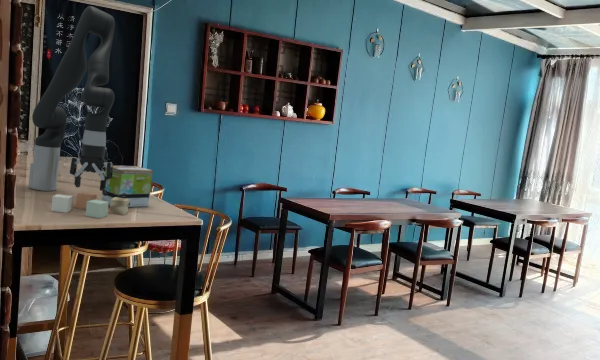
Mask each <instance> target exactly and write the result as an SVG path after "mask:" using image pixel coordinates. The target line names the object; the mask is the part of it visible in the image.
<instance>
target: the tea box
mask: <svg viewBox="0 0 600 360" xmlns="http://www.w3.org/2000/svg"><path fill="white" fill-rule="evenodd" d="M153 172H154V171H153V170H152V169H149V168H145V167H142V166H136V165H113V172H112V178H111V179H107V180H106V188H105V189H104V190H103V191H101V199H100V200H101V201H106V202H109V203H108V207H110V205H111V199H113V198H114V197H118V198H125V199H129V205H128V208H131V207H133V208H134V207H139V208H140V207H148V206H149V202H150V201H149V200H150V195H151V187H152V182H153V181H152V180H153ZM104 173H105V175H106V176H107V168H106V167H105V169H104Z"/></svg>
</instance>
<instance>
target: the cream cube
mask: <svg viewBox="0 0 600 360" xmlns="http://www.w3.org/2000/svg"><path fill="white" fill-rule="evenodd" d="M72 204H73V195H68V194H60V193H56V194H55V195H53V196H52V199H51V209H50V210H51V212H57V213H66V214H67V213H68V212H69V213H70V211H71V210H72Z"/></svg>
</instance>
